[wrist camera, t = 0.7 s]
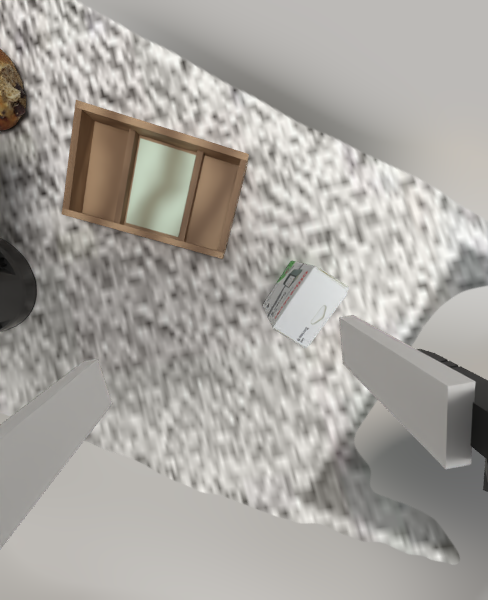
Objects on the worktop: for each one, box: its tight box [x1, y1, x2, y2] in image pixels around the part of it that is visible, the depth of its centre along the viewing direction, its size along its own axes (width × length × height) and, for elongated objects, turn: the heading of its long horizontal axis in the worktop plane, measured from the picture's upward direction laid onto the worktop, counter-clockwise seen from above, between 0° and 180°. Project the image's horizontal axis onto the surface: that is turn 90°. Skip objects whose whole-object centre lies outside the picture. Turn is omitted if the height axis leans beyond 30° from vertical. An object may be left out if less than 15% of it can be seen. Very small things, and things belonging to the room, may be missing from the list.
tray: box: [62, 100, 249, 259], centre depth 32 cm, size 22×14×4 cm, turn 75°
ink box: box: [263, 261, 349, 348], centre depth 32 cm, size 9×5×12 cm, turn 148°
